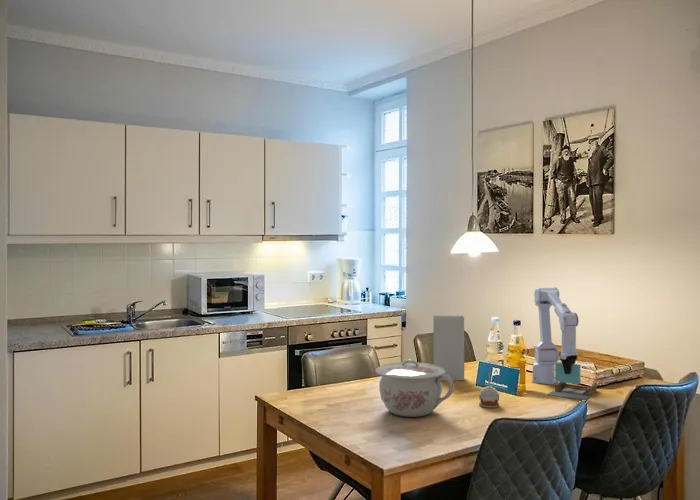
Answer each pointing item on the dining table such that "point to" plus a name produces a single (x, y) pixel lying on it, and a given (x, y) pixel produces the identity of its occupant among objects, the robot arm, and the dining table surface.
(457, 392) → the dining table surface
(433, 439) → the dining table surface
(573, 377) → the teal sheet
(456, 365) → the tall grey upright panel
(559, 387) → the offcut rack
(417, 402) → the chamber pot
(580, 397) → the slate mat
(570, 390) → the offcut upper
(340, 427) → the dining table surface
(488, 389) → the caramel apple
